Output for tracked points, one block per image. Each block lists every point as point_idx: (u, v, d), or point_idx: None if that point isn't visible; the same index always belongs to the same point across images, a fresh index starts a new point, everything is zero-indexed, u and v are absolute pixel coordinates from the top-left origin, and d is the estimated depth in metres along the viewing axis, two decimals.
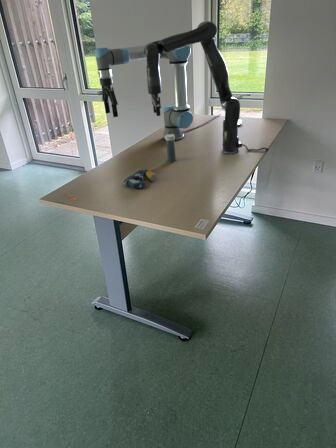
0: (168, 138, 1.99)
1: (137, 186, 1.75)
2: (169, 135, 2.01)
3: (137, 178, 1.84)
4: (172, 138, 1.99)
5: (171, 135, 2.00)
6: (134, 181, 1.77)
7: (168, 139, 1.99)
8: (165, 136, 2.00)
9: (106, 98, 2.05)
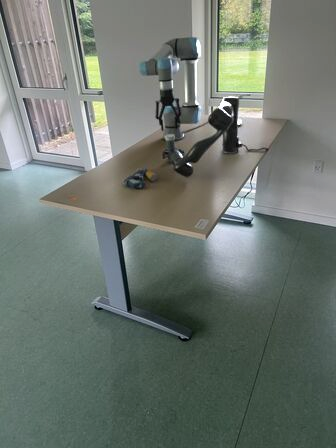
0: (168, 138, 1.99)
1: (137, 186, 1.75)
2: (169, 135, 2.01)
3: (137, 178, 1.84)
4: (172, 138, 1.99)
5: (171, 135, 2.00)
6: (134, 181, 1.77)
7: (168, 139, 1.99)
8: (165, 136, 2.00)
9: (174, 112, 1.94)
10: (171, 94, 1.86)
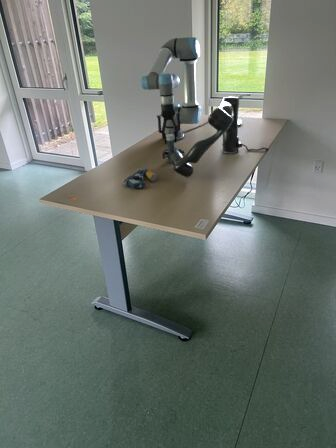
0: (168, 138, 1.99)
1: (137, 186, 1.75)
2: (169, 135, 2.01)
3: (137, 178, 1.84)
4: (172, 138, 1.99)
5: (171, 135, 2.00)
6: (134, 181, 1.77)
7: (168, 139, 1.99)
8: None
9: (173, 126, 1.98)
10: (172, 108, 1.90)
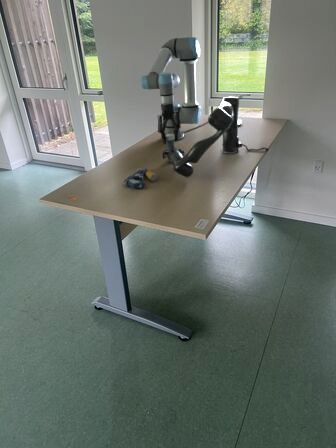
0: (173, 137, 1.99)
1: (137, 186, 1.75)
2: (169, 135, 2.00)
3: (137, 178, 1.84)
4: (174, 136, 2.01)
5: (170, 134, 2.01)
6: (134, 181, 1.77)
7: (173, 138, 1.99)
8: (169, 136, 1.98)
9: (174, 125, 1.99)
10: (173, 107, 1.91)
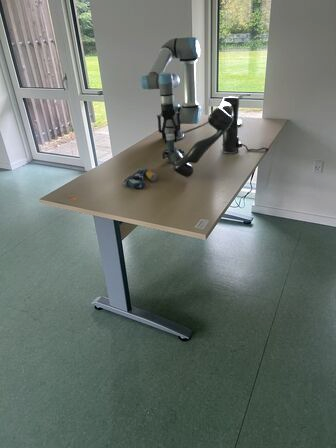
0: (173, 137, 1.99)
1: (137, 186, 1.75)
2: (169, 135, 2.00)
3: (137, 178, 1.84)
4: (174, 136, 2.01)
5: (170, 134, 2.01)
6: (134, 181, 1.77)
7: (173, 138, 1.99)
8: (169, 136, 1.98)
9: (173, 126, 1.98)
10: (172, 108, 1.90)
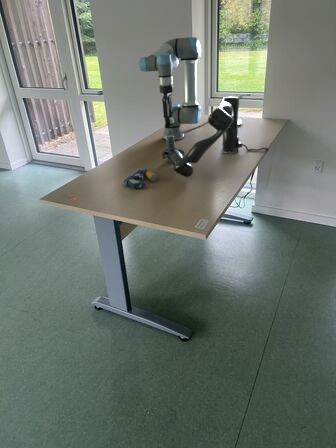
0: None
1: (137, 186, 1.75)
2: None
3: (137, 178, 1.84)
4: None
5: None
6: (134, 181, 1.77)
7: None
8: (172, 119, 1.94)
9: (169, 108, 1.95)
10: None
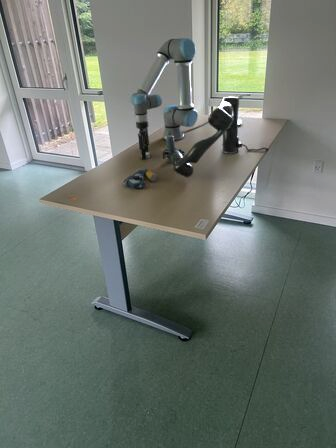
0: None
1: (137, 186, 1.75)
2: None
3: (137, 178, 1.84)
4: None
5: None
6: (134, 181, 1.77)
7: None
8: (148, 154, 2.16)
9: (145, 141, 2.15)
10: None
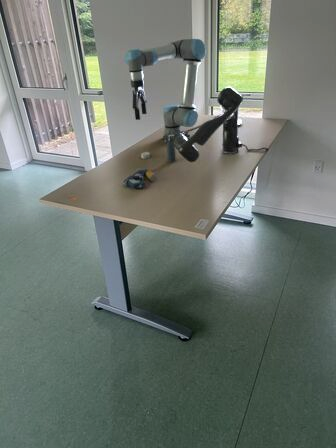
0: None
1: (137, 186, 1.75)
2: (145, 153, 2.17)
3: (137, 178, 1.84)
4: None
5: (144, 153, 2.18)
6: (134, 181, 1.77)
7: None
8: (148, 154, 2.16)
9: (142, 99, 2.05)
10: None
